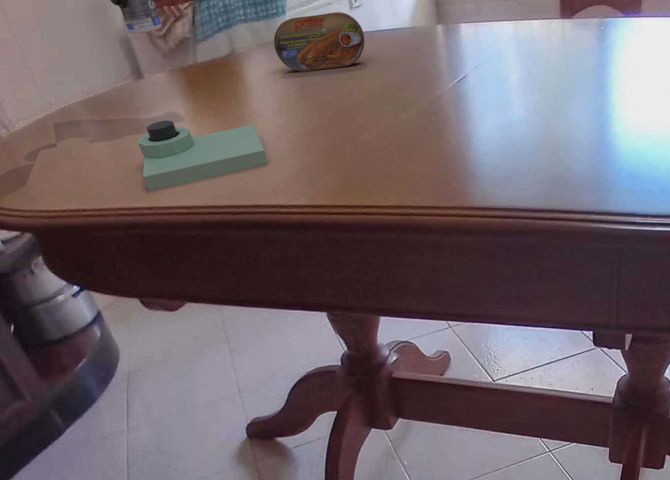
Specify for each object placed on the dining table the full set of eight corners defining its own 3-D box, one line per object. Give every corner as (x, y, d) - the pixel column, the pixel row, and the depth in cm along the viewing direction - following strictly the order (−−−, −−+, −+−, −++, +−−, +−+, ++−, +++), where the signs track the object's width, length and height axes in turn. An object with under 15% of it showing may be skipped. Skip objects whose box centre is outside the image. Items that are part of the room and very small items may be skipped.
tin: (281, 74, 120) (267, 21, 115) (284, 69, 122) (271, 17, 117) (368, 64, 119) (358, 11, 114) (370, 59, 122) (360, 7, 117)
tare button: (151, 145, 86) (146, 131, 85) (151, 137, 88) (146, 124, 87) (178, 139, 87) (173, 125, 86) (177, 132, 89) (172, 118, 88)
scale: (148, 192, 82) (136, 163, 80) (149, 160, 91) (138, 134, 89) (268, 164, 85) (260, 136, 83) (257, 137, 94) (250, 111, 92)
